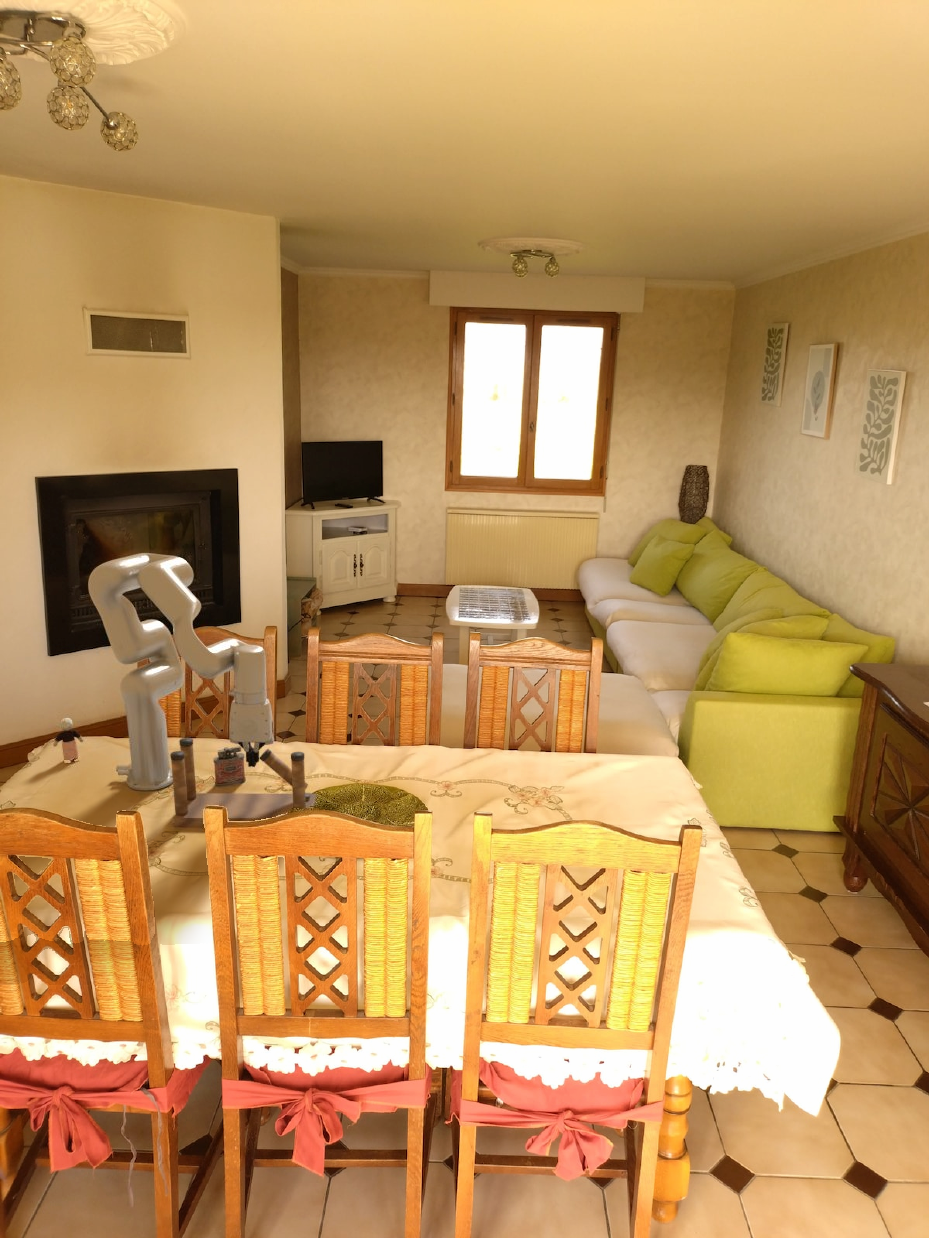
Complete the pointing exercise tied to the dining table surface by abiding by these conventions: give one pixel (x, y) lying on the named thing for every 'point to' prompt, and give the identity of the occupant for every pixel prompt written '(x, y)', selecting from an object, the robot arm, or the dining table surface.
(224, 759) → the lighter
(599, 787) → the dining table surface
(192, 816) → the stool
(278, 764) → the folding leg
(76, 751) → the grandmother figurine
